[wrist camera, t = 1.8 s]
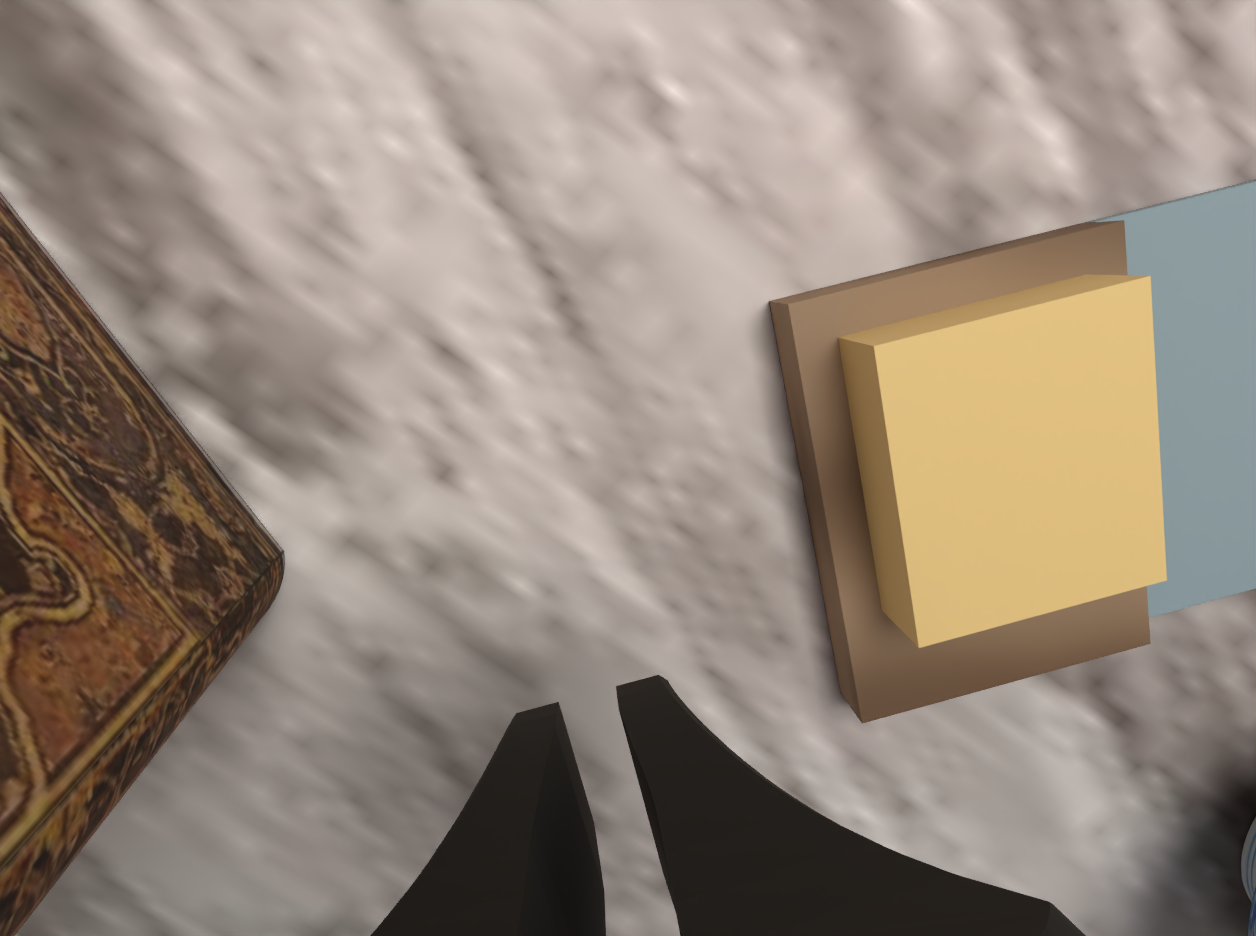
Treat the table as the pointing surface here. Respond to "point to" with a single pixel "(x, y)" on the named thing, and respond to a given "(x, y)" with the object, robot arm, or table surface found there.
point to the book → (99, 571)
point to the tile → (1010, 454)
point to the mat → (1203, 386)
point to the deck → (819, 409)
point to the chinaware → (1250, 874)
